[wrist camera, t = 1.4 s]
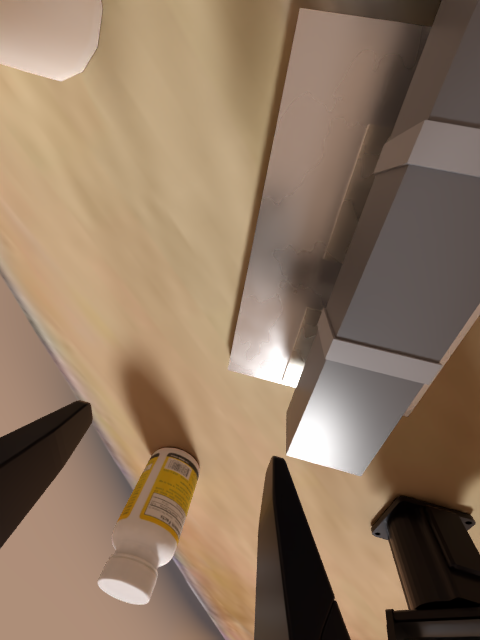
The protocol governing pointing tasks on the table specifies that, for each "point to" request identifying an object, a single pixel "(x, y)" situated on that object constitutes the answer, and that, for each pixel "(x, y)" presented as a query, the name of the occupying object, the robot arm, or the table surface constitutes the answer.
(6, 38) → the foam cup
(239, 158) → the table surface
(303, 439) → the bar
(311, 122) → the panel
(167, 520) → the supplement bottle
